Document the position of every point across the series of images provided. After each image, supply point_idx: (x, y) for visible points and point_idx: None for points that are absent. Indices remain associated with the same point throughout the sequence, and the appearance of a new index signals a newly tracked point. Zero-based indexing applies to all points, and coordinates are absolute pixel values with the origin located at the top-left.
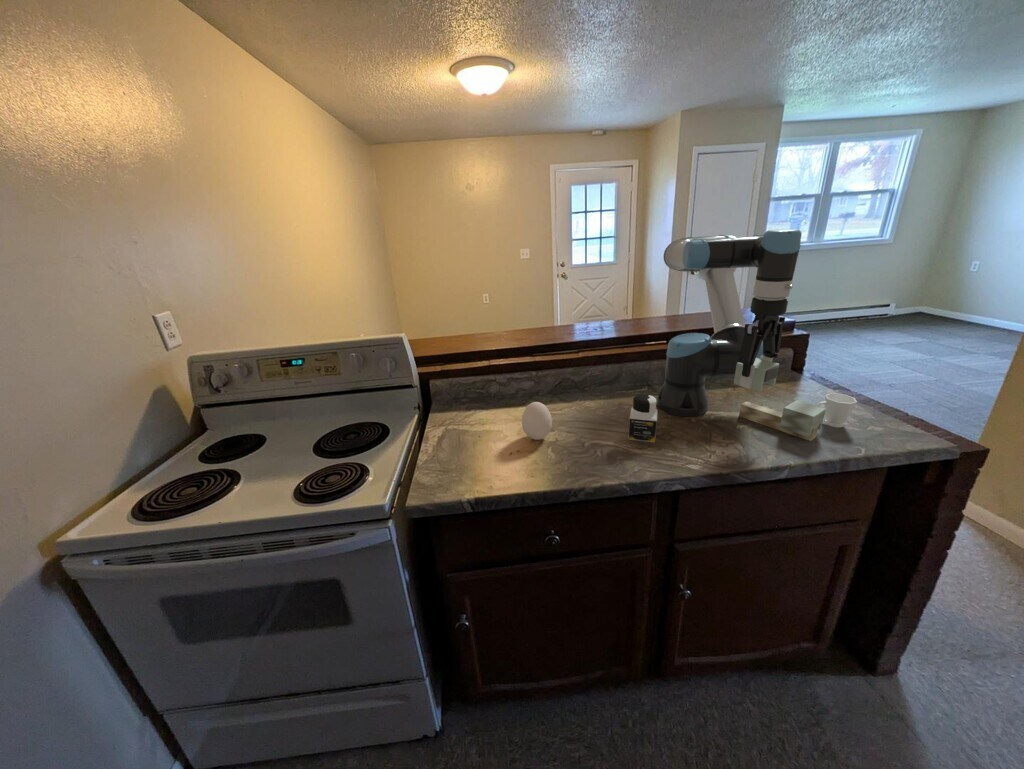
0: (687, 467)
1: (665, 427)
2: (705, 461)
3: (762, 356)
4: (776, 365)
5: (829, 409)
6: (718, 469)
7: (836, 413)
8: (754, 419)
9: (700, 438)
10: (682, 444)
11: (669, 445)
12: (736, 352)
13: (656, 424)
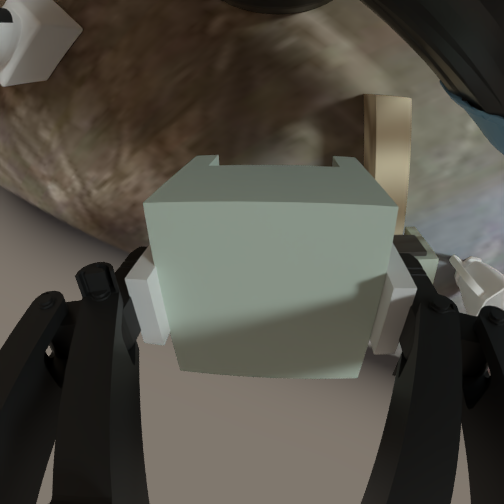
0: (46, 188)
1: (115, 23)
2: (83, 192)
3: (392, 300)
4: (323, 375)
5: (471, 290)
6: (86, 224)
7: (464, 301)
8: (366, 143)
9: (143, 112)
10: (87, 114)
11: (63, 104)
12: (478, 17)
13: (12, 85)
